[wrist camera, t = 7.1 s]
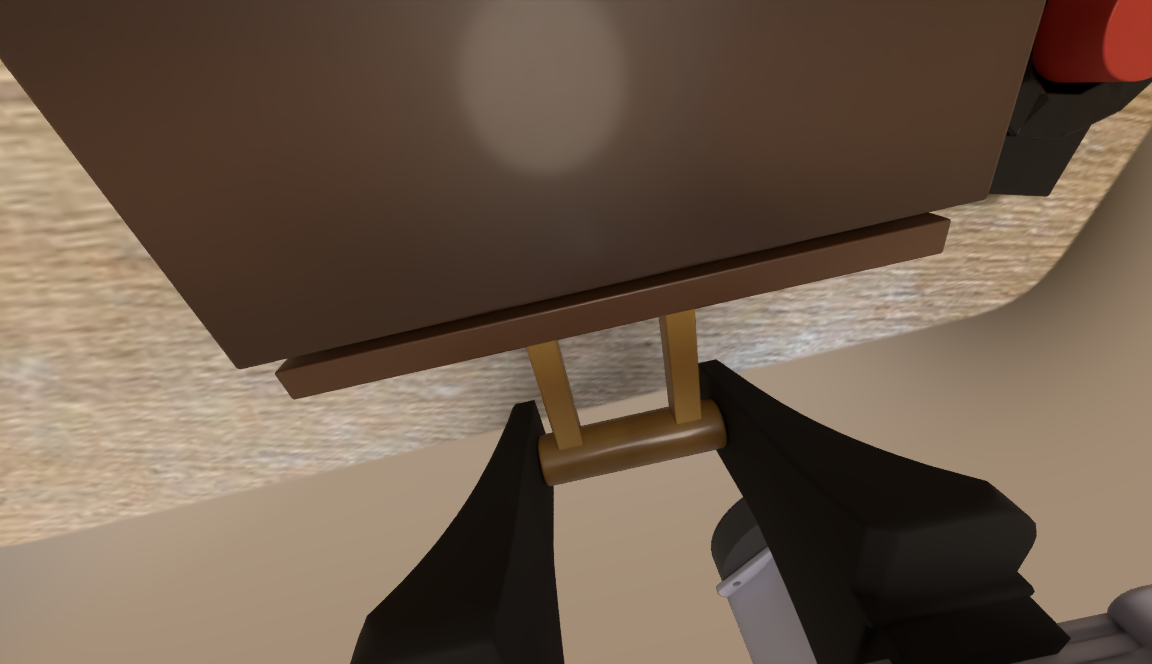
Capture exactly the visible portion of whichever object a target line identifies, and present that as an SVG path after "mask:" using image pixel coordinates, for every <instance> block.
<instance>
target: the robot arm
mask: <svg viewBox="0 0 1152 664" xmlns="http://www.w3.org/2000/svg"><path fill="white" fill-rule="evenodd" d="M698 369H699V384H700V399H705V398H711V399H713V400H714V401H715V403H716V404H717V406H718V407H719V409H720V412H721V414H722V417H723V420H724V423H725V427H726V432H727V444H726V446H725V447H724V448H721V449H717V450H716V451H717V452H718V454H719V456H720V458H721V459H722V461H723V463H724V464H725V466H726V468H727V470H728V471H729V473H730V475H731V476H732V478H733V480H734V482H735V483H736V485H737V487H738V489H739V490H740V492H741V494H742V495H743V497H744V499H745V501H746V502H747V504H748V506H749V508H750V510H751V512H752V514H753V515H754V517H755V519H756V521H757V524H758V526H759V528H760V530H761V532H762V535H763V537H764V539H765V541H766V543H767V545H768V546H767V547H765V548H764V549H763V550H761V551H760V552H759V553H758V554H756V555H755V556H754V557H753V558H751V559H750V560H749V561H747V562H746V563H745V564H744V565H742V566H741V567H740V568H738V569H737V570H736V571H735V572H733V573H732V574H731V575H729V576H728V577H727V578H726V579H724V580H723V581H722V582H721V583H719V584H718V585H717V587H716V589H717V592H718V594H719V595H720V596H724V597H727V598H728V601H729V604H730V606H731V609H732V611H733V614H734V616H735V619H736V621H737V624H738V627H739V629H740V632H741V634H742V637H743V639H744V642H745V644H746V647H747V650H748V652H749V654H750V657H751V660H752V662H753V664H1152V584H1151V585H1146V586H1141V587H1137V588H1134V589H1131V590H1129V591H1127V592H1125V593H1123V594H1121V595H1120V596H1118V597H1117V598H1116V599H1115V600H1114V601H1113V602H1112V603H1111V604H1110V606H1109V607H1108V611H1107V613H1104V614H1099V615H1094V616H1090V617H1085V618H1080V619H1075V620H1070V621H1066V622H1061V623H1056V622H1055V621H1053V619H1052V618H1051V617H1050V616H1049V615H1048V614H1047V613H1046V612H1045V611H1044V610H1043V609H1042V608H1041V607H1040V606H1039V605H1038V604H1037V603H1036V602H1035V601H1034V600H1033V599H1032V598H1031V597H1030V596H1031V595H1033V593H1034V592H1035V591H1034V589H1033V587H1032V586H1031V585H1030V584H1029V583H1028V582H1027V581H1026V580H1025V579H1024V578H1023V577H1022V576H1021V575H1020V574H1019V573H1018V572H1017V571H1018V569H1019V568H1020V566H1021V564H1022V563H1023V561H1024V559H1025V558H1026V556H1027V555H1028V553H1029V551H1030V549H1031V548H1032V546H1033V544H1034V541H1035V539H1036V523H1035V522H1034V521H1033V520H1032V519H1031V518H1030V517H1029V516H1028V515H1027V514H1026V513H1024V512H1023V511H1022V510H1021V509H1020V508H1018V506H1016V505H1015V504H1014V503H1013V502H1012V501H1011V500H1009V499H1008V498H1007V497H1006V496H1005V495H1004V494H1002V493H1001V492H1000V491H999V490H998V489H996V488H995V487H994V486H992V485H991V484H990V483H989V482H987V481H985V480H981V479H977V478H974V477H970V476H966V475H962V474H959V473H955V472H951V471H948V470H944V469H940V468H936V467H933V466H929V465H926V464H923V463H920V462H917V461H914V460H911V459H908V458H905V457H902V456H898V455H895V454H893V453H890V452H887V451H884V450H882V449H879V448H876V447H874V446H871V445H869V444H866V443H863V442H861V441H858V440H856V439H853V438H851V437H849V436H846V435H844V434H842V433H839V432H837V431H835V430H833V429H831V428H829V427H826V426H824V425H822V424H820V423H818V422H816V421H814V420H812V419H810V418H808V417H806V416H804V415H802V414H800V413H799V412H797V411H795V410H793V409H792V408H790V407H788V406H786V405H784V404H783V403H781V402H779V401H778V400H776V399H774V398H773V397H771V396H770V395H768V394H767V393H765V392H763V391H762V390H760V389H759V388H757V387H756V386H754V385H753V384H751V383H750V382H748V381H747V380H745V379H744V378H742V377H741V376H740V375H738V374H737V373H735V372H734V371H732V370H731V369H730V368H728V367H727V366H725V365H724V364H722V363H721V362H719V361H718V360H716V359H715V360H711V361H706V362H702V363H698ZM543 434H546V433H545V430H544V427H543V424H542V421H541V418H540V415H539V412H538V409H537V406H536V403H535V400H532V401H528V402H523V403H519V404H515V405H514V407H513V409H512V411H511V414H510V417H509V419H508V422H507V424H506V426H505V429H504V431H503V433H502V436H501V438H500V440H499V442H498V444H497V447H496V449H495V451H494V453H493V455H492V457H491V459H490V461H489V463H488V465H487V466H486V468H485V470H484V472H483V474H482V476H481V477H480V480H479V481H478V483H477V485H476V486H475V488H474V490H473V491H472V493H471V495H470V496H469V498H468V499H467V501H466V502H465V504H464V505H463V507H462V508H461V510H460V511H459V513H458V514H457V516H456V517H455V518H454V520H453V521H452V522H451V524H450V525H449V527H448V528H447V529H446V531H445V532H444V533H443V535H442V536H441V537H440V539H439V540H438V541H437V542H436V544H435V545H434V546H433V547H432V549H431V550H430V551H429V552H428V553H427V554H426V555H425V557H424V558H423V559H422V560H421V561H420V563H419V564H418V565H417V566H416V567H415V568H414V569H413V570H412V571H411V572H410V574H409V575H408V576H407V577H406V578H405V579H404V580H403V581H402V582H401V583H400V584H399V585H398V586H397V587H396V588H395V589H394V590H393V591H392V592H391V593H390V594H389V595H388V596H387V597H386V598H385V599H384V600H383V601H382V602H381V603H380V604H379V605H378V606H377V607H376V608H375V609H374V610H373V611H372V612H371V613H370V614H368V615H367V618H366V620H365V623H364V625H363V628H362V630H361V633H360V635H359V638H358V641H357V644H356V647H355V650H354V653H353V656H352V660H351V663H350V664H564V656H563V647H562V638H561V629H560V620H559V609H558V599H557V589H556V578H555V567H554V549H553V548H554V547H553V539H554V538H553V537H554V535H553V534H554V533H553V532H554V531H553V529H554V525H553V524H554V523H553V521H554V517H553V515H554V513H553V512H554V503H553V502H554V497H553V496H554V487H553V486H548V485H547V484H546V482H545V480H544V477H543V474H542V470H541V466H540V461H539V454H538V438H539V436H541V435H543Z"/></svg>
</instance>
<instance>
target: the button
mask: <svg viewBox="0 0 1152 664" xmlns="http://www.w3.org/2000/svg"><path fill="white" fill-rule="evenodd" d="M1032 61H1033V65H1034V67H1035V69H1036V71H1037V72H1038V73H1039V75H1040V76H1042V77H1043V78H1044V79H1046V80H1048V81H1051V82H1056V83H1076V82H1135V81H1141V80H1145V79H1148V78H1151V77H1152V0H1049V1H1048V3H1047V5H1046V7H1045V9H1044V11H1043V13H1042V16H1041V19H1040V23H1039V26H1038V29H1037V33H1036V36H1035V39H1034V48H1033V60H1032Z"/></svg>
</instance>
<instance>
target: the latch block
mask: <svg viewBox="0 0 1152 664" xmlns="http://www.w3.org/2000/svg"><path fill="white" fill-rule="evenodd" d="M1048 1H1049V0H1046V3H1045V6H1044V9H1045V7H1046V5H1047V3H1048ZM1044 9H1043V11H1044ZM1033 48H1034V43H1033V46H1032V50H1031V53H1030V56H1029V60H1028V63H1027V66H1026V70H1025V73H1024V76H1023V80H1022V83H1021V86H1020V90H1019V93H1018V96H1017V100H1016V103H1015V106H1014V110H1013V113H1012V117H1011V120H1010V123H1009V127H1008V130H1007V133H1006V137H1005V140H1004V143H1003V147H1002V150H1001V153H1000V157H999V160H998V163H997V167H996V170H995V174H994V177H993V180H992V184H991V187H990V190H989V194H1002V195H1023V196H1044V197H1046V196H1049V194H1050V193H1051V191H1052V189H1053V188H1054V186H1055V184H1056V183H1057V181H1058V179H1059V178H1060V176H1061V174H1062V173H1063V171H1064V169H1065V168H1066V166H1067V164H1068V163H1069V161H1070V159H1071V158H1072V156H1073V154H1074V153H1075V151H1076V149H1077V148H1078V146H1079V144H1080V143H1081V141H1082V139H1083V138H1084V136H1085V134H1086V133H1087V131H1088V129H1089V128H1090V126H1091V125H1092V124H1094V123H1096V122H1098V121H1100V120H1102V119H1104V118H1106V117H1109V116H1111V115H1113V114H1115V113H1116V112H1117V111H1121V110H1122V109H1123V108H1124V107H1125V106H1126V105H1127V104H1128V103H1130V102H1131V101H1132V100H1133V99H1134V98H1135V97H1136V96H1137V95H1138V94H1139V93H1140V92H1142V91H1143V90H1144V89H1145V88H1146V87H1147V86H1148V85H1149V84H1150V83H1151V82H1152V77H1151V78H1148V79H1145V80H1141V81H1135V82H1076V83H1056V82H1051V81H1048V80H1046V79H1044V78H1043V77H1042V76H1040V75H1039V73H1038V72H1037V71H1036V69H1035V67H1034V65H1033V61H1032V60H1033Z"/></svg>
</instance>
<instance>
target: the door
mask: <svg viewBox="0 0 1152 664" xmlns="http://www.w3.org/2000/svg"><path fill="white" fill-rule="evenodd" d="M950 222H951V220H950V219H948V218H945V217H942V216H939V215H935V214H932V213H929V212H927V213H923V214H919V215H914V216H910V217H905V218H901V219H897V220H892V221H888V222H884V223H879V224H875V225H870V226H866V227H862V228H857V229H853V230H848V231H844V232H840V233H835V234H831V235H827V236H822V237H818V238H813V239H809V240H805V241H800V242H796V243H791V244H787V245H783V246H778V247H774V248H770V249H765V250H761V251H756V252H752V253H748V254H743V255H739V256H734V257H730V258H726V259H721V260H717V261H713V262H708V263H704V264H699V265H695V266H691V267H686V268H682V269H677V270H673V271H669V272H664V273H660V274H656V275H651V276H647V277H642V278H638V279H634V280H629V281H625V282H620V283H616V284H612V285H607V286H603V287H599V288H594V289H590V290H585V291H581V292H577V293H572V294H568V295H563V296H559V297H555V298H550V299H546V300H541V301H537V302H533V303H528V304H524V305H520V306H515V307H511V308H506V309H502V310H498V311H493V312H489V313H484V314H480V315H476V316H471V317H467V318H463V319H458V320H454V321H449V322H445V323H441V324H436V325H432V326H427V327H423V328H419V329H414V330H410V331H406V332H401V333H397V334H392V335H388V336H384V337H379V338H375V339H370V340H366V341H362V342H357V343H353V344H349V345H344V346H340V347H335V348H331V349H327V350H322V351H318V352H313V353H309V354H305V355H300V356H296V357H292V358H288V359H287V360H286V361H285V362H284V363H283V364H282V365H281V366H280V368H279V369H278V370H277V371H276V372H275V375H276V377H277V378H278V379H279V381H280V382H281V384H282V385H283V386H284V388H285V389H286V391H287V392H288V393H289V395H290V396H291V398H292V399H299V398H303V397H308V396H312V395H316V394H321V393H325V392H330V391H334V390H338V389H343V388H347V387H352V386H356V385H361V384H365V383H369V382H374V381H378V380H383V379H387V378H391V377H396V376H400V375H405V374H409V373H414V372H418V371H422V370H427V369H431V368H436V367H440V366H444V365H449V364H453V363H458V362H462V361H467V360H471V359H475V358H480V357H484V356H489V355H493V354H497V353H502V352H506V351H511V350H515V349H520V348H524V347H526V349H527V352H528V355H529V358H530V361H531V365H532V368H533V371H534V374H535V377H536V380H537V384H538V387H539V390H540V393H541V396H542V400H543V403H544V406H545V409H546V412H547V415H548V419H549V422H550V425H551V428H552V431H553V432H552V433H548V434H543V435H541V436H539V438H538V454H539V461H540V466H541V470H542V474H543V477H544V480H545V482H546V484H547V485H548V486H554V485H558V484H563V483H567V482H572V481H576V480H580V479H585V478H589V477H594V476H599V475H603V474H608V473H613V472H617V471H622V470H626V469H631V468H635V467H640V466H644V465H649V464H653V463H658V462H662V461H667V460H671V459H675V458H680V457H684V456H689V455H694V454H698V453H703V452H708V451H712V450H717V449H721V448H724V447H725V446H726V444H727V432H726V427H725V423H724V420H723V417H722V414H721V412H720V409H719V407H718V406H717V404H716V403H715V401H714V400H713V399H711V398H705V399H700V384H699V369H698V353H697V337H696V321H695V309H696V308H701V307H705V306H710V305H714V304H718V303H723V302H727V301H732V300H736V299H740V298H745V297H749V296H754V295H758V294H763V293H767V292H771V291H776V290H780V289H785V288H789V287H793V286H798V285H802V284H807V283H811V282H816V281H820V280H824V279H829V278H833V277H838V276H842V275H846V274H851V273H855V272H860V271H864V270H869V269H873V268H877V267H882V266H886V265H891V264H895V263H899V262H904V261H908V260H913V259H917V258H922V257H926V256H930V255H935V254H939V253H942V252H943V249H944V245H945V241H946V237H947V234H948V230H949V226H950ZM657 317H659V324H660V333H661V341H662V350H663V359H664V367H665V376H666V385H667V394H668V402H669V407H664V408H660V409H656V410H651V411H647V412H643V413H638V414H633V415H629V416H624V417H620V418H615V419H611V420H606V421H602V422H598V423H593V424H588V425H584V426H581V425H580V422H579V418H578V414H577V410H576V406H575V403H574V399H573V395H572V391H571V388H570V384H569V380H568V376H567V373H566V369H565V365H564V361H563V358H562V354H561V350H560V346H559V342H558V340H559V339H564V338H568V337H573V336H577V335H581V334H586V333H590V332H595V331H599V330H604V329H608V328H612V327H617V326H621V325H626V324H630V323H634V322H639V321H643V320H648V319H652V318H657Z"/></svg>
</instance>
